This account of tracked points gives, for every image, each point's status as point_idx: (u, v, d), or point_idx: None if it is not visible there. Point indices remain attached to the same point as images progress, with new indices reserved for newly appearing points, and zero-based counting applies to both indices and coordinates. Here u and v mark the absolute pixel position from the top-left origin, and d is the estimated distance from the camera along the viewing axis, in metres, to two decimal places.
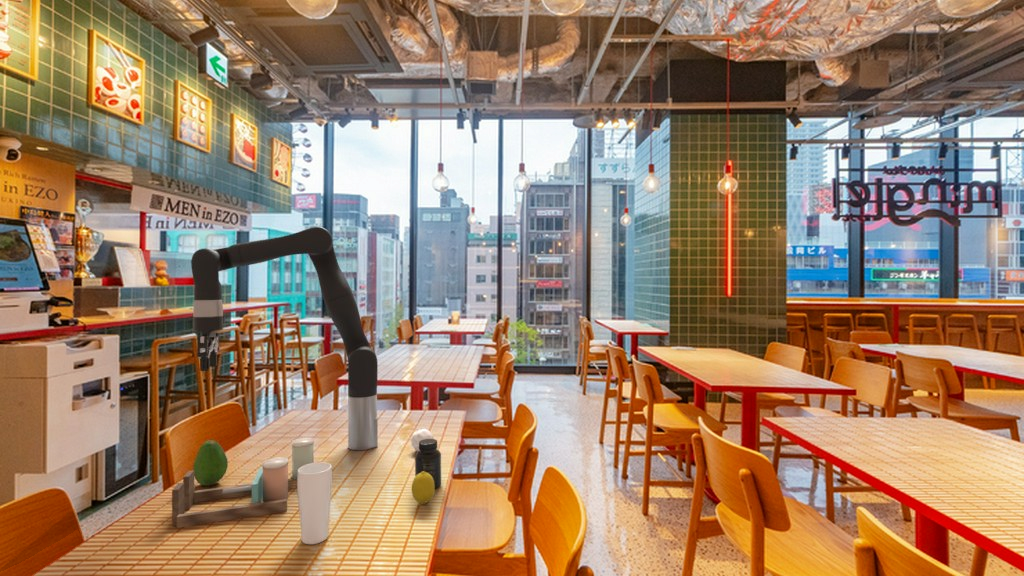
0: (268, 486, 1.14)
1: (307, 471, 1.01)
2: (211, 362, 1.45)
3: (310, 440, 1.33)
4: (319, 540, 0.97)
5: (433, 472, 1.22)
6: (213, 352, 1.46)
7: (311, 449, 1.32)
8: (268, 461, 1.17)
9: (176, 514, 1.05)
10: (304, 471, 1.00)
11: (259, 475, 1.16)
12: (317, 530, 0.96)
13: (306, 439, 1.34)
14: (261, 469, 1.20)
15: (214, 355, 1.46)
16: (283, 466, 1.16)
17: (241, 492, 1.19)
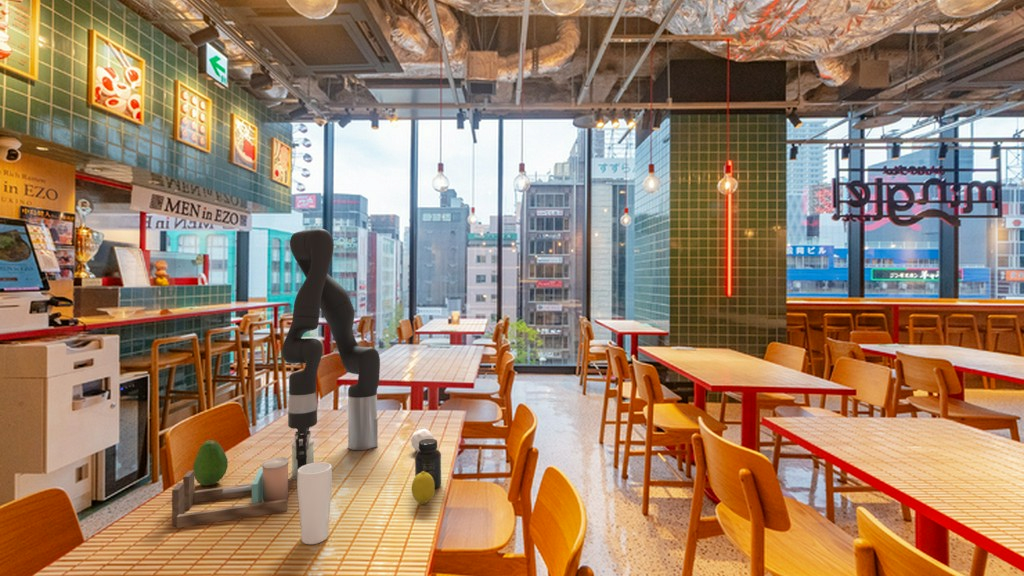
0: (268, 486, 1.14)
1: (307, 471, 1.01)
2: None
3: (310, 440, 1.33)
4: (319, 540, 0.97)
5: (433, 472, 1.22)
6: None
7: (311, 449, 1.32)
8: (268, 461, 1.17)
9: (176, 514, 1.05)
10: (304, 471, 1.00)
11: (259, 475, 1.16)
12: (317, 530, 0.96)
13: None
14: (261, 469, 1.20)
15: None
16: (283, 466, 1.16)
17: (241, 492, 1.19)
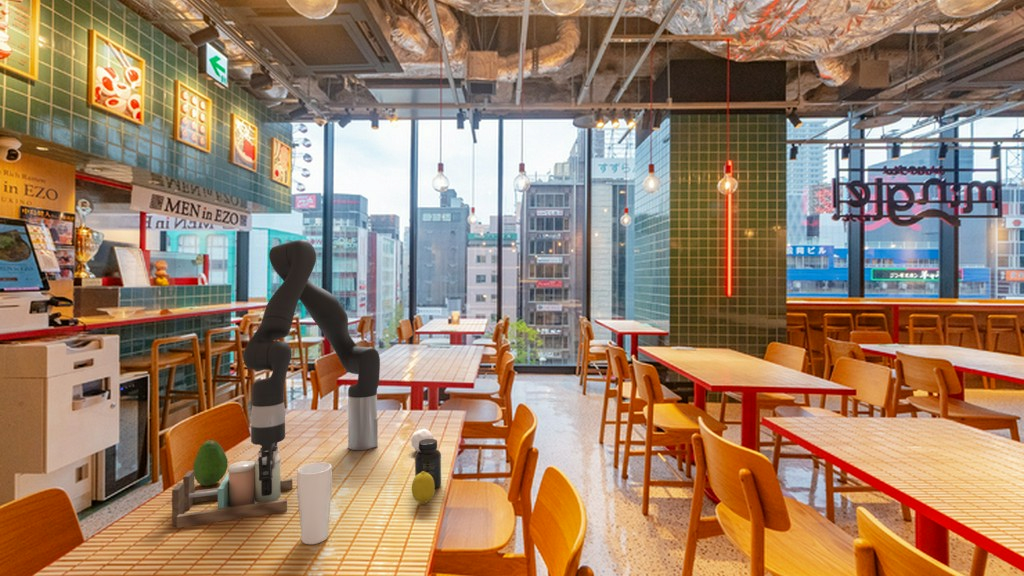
0: (234, 491, 1.11)
1: (307, 471, 1.01)
2: None
3: (276, 457, 1.16)
4: (319, 540, 0.97)
5: (433, 472, 1.22)
6: None
7: (277, 468, 1.15)
8: (234, 465, 1.14)
9: (176, 514, 1.05)
10: (304, 471, 1.00)
11: (227, 479, 1.13)
12: (317, 530, 0.96)
13: None
14: None
15: None
16: (250, 469, 1.13)
17: None
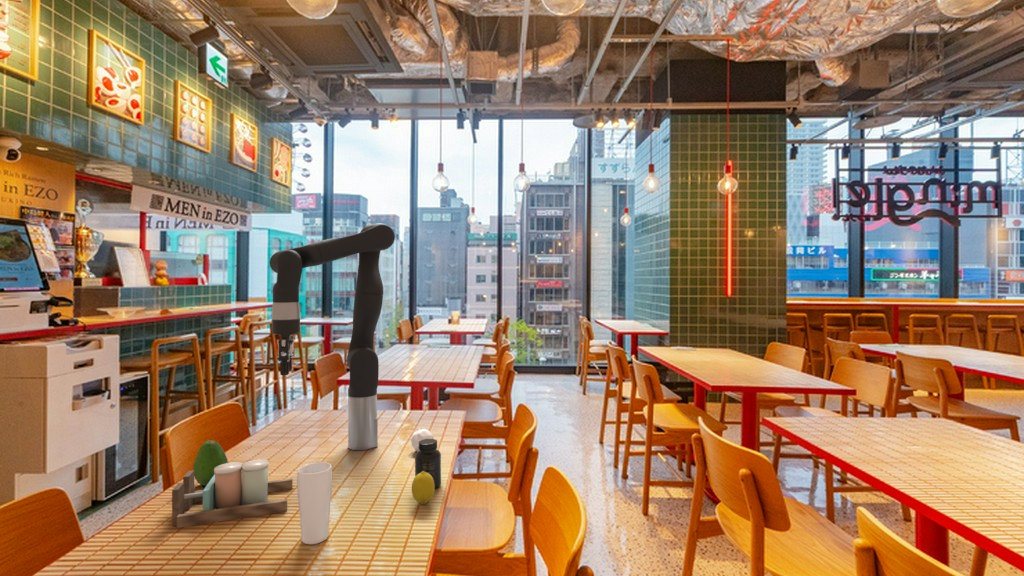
0: (220, 492, 1.11)
1: (307, 471, 1.01)
2: None
3: (264, 463, 1.15)
4: (319, 540, 0.97)
5: (433, 472, 1.22)
6: None
7: (264, 473, 1.15)
8: (220, 466, 1.13)
9: (176, 514, 1.05)
10: (304, 471, 1.00)
11: (213, 481, 1.12)
12: (317, 530, 0.96)
13: (260, 462, 1.16)
14: None
15: (289, 359, 1.42)
16: (236, 471, 1.12)
17: None
